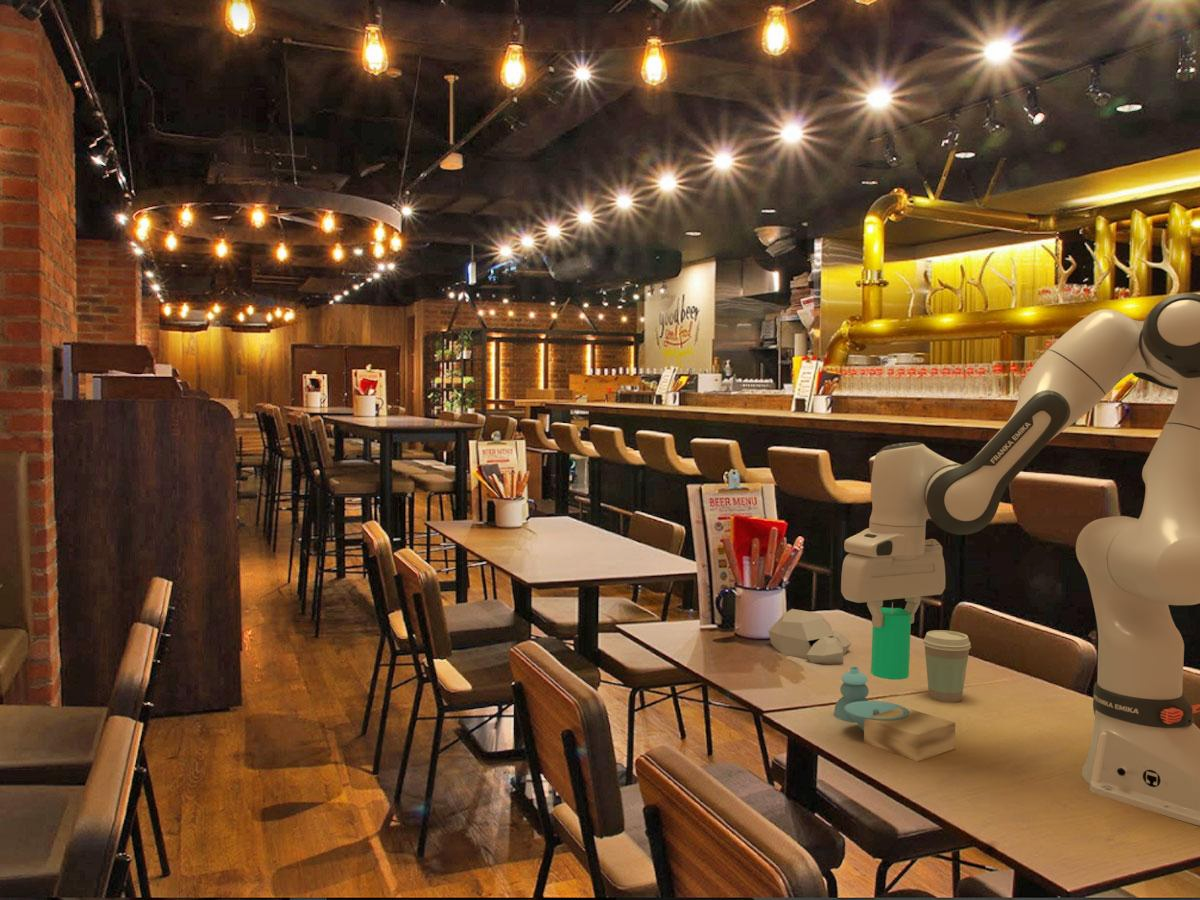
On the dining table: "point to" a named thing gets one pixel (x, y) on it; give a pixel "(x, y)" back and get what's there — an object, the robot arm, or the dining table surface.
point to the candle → (892, 645)
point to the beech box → (910, 734)
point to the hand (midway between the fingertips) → (893, 624)
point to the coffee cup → (946, 664)
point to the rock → (808, 637)
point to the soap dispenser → (860, 700)
